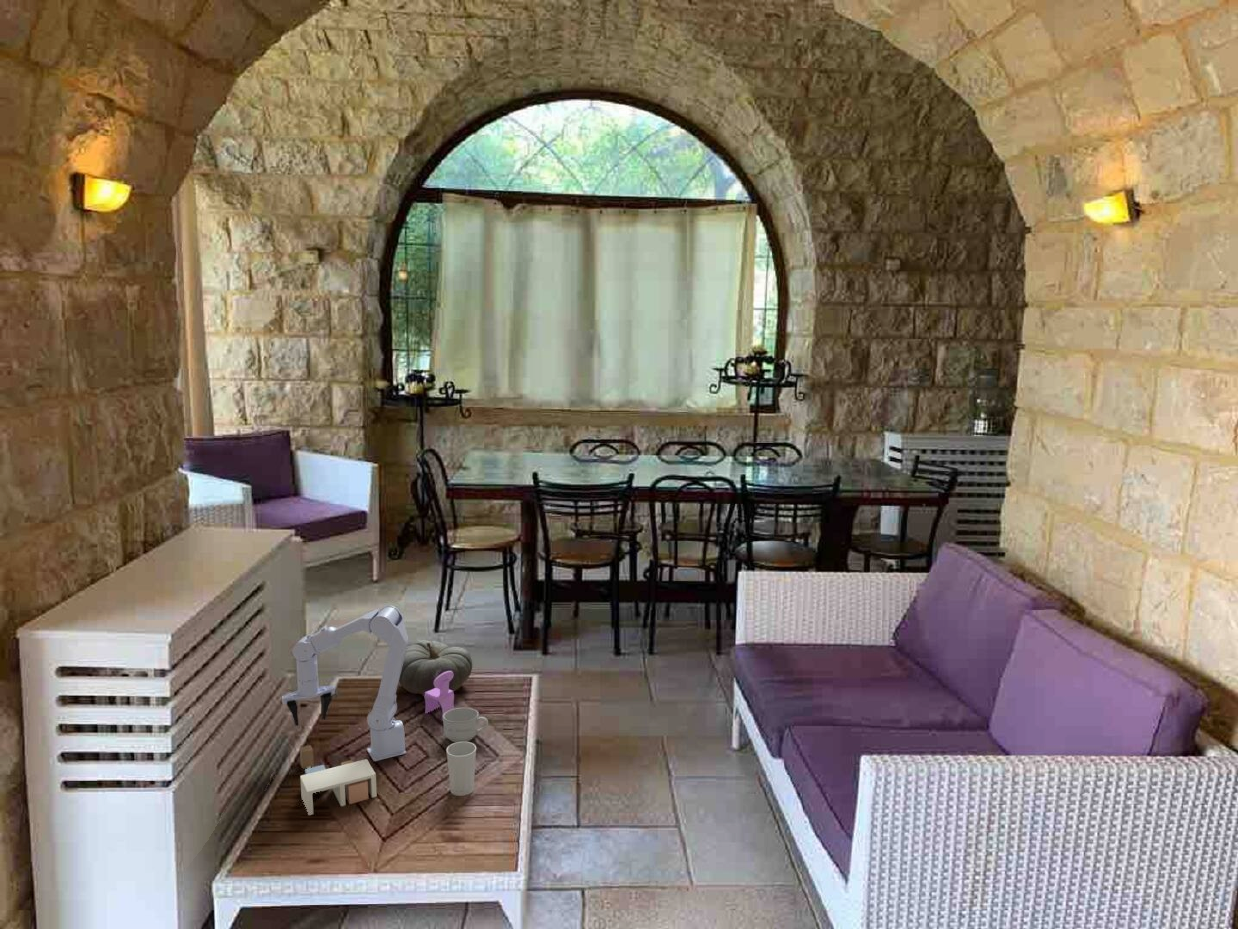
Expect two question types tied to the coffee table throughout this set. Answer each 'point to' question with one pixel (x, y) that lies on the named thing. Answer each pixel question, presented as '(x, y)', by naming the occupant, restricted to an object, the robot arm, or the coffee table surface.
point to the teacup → (462, 724)
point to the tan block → (356, 789)
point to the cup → (461, 767)
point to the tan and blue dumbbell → (309, 760)
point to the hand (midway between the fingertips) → (310, 721)
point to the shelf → (337, 781)
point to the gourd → (433, 666)
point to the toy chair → (440, 694)
